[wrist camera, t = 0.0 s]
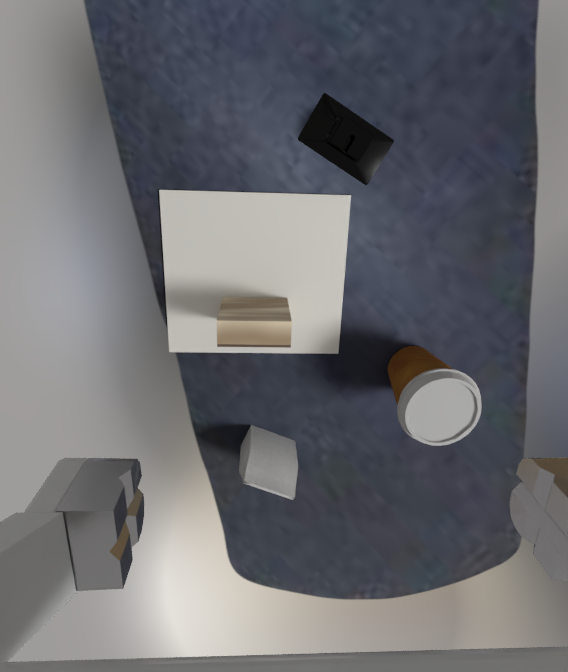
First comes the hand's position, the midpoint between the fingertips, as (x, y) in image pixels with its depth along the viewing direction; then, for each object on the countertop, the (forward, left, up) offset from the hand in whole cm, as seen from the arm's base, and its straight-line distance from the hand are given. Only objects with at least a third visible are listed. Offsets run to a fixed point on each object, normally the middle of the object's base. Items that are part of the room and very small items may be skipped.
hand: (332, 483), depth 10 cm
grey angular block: (+31, 0, -48) cm, 57 cm away
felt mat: (+7, -2, -48) cm, 49 cm away
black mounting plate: (-9, +8, -49) cm, 50 cm away
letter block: (+11, -2, -48) cm, 49 cm away
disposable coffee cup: (+19, +19, -48) cm, 55 cm away
